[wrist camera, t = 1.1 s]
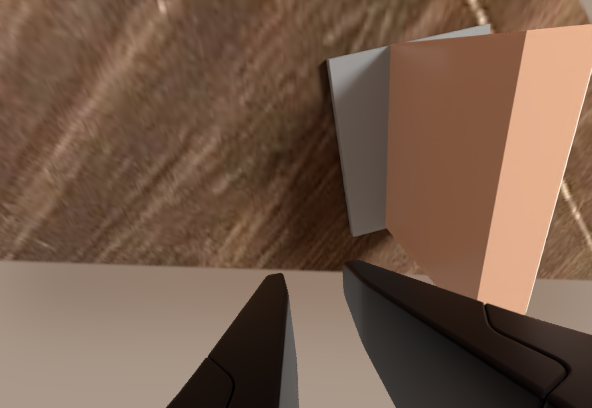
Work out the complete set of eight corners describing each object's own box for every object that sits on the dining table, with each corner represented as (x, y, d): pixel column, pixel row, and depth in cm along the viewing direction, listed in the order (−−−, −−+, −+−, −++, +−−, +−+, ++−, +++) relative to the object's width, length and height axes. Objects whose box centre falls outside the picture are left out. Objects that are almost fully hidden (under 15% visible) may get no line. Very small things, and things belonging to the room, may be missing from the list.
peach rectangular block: (385, 226, 22) (472, 327, 14) (390, 43, 17) (526, 30, 9) (421, 221, 22) (527, 316, 14) (436, 39, 17) (608, 22, 9)
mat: (350, 232, 22) (353, 236, 22) (326, 59, 17) (328, 59, 17) (474, 200, 23) (479, 204, 22) (482, 24, 18) (490, 23, 17)
